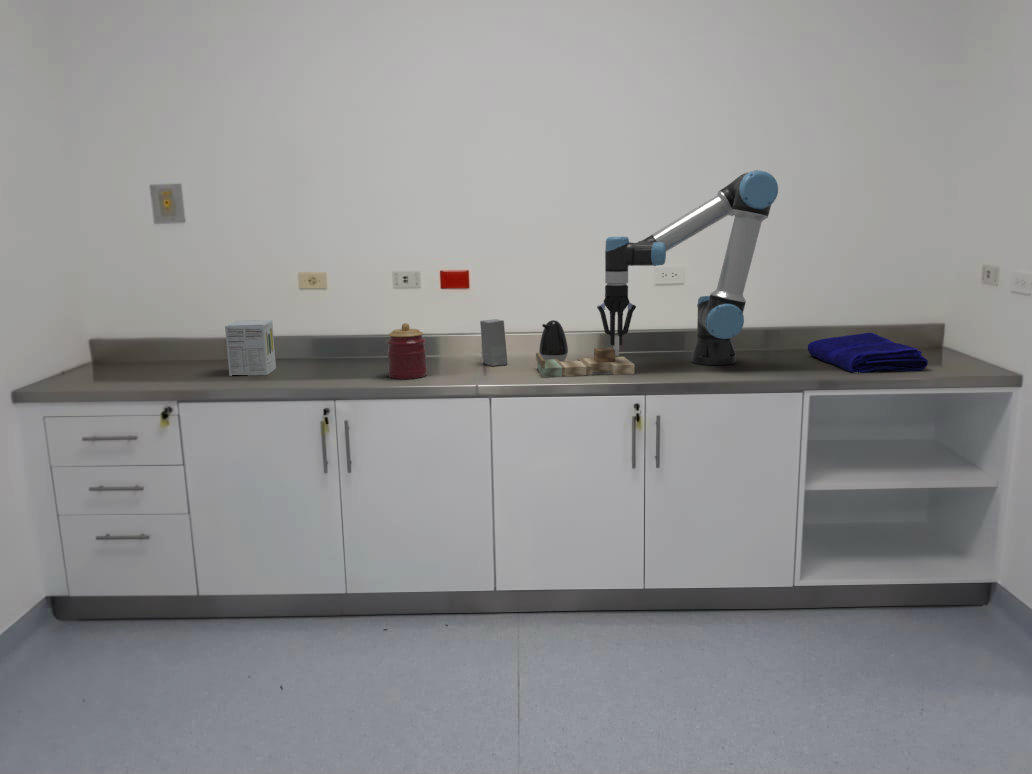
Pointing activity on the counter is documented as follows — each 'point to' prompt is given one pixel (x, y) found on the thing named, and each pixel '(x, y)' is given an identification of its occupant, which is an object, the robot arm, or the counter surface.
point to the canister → (406, 353)
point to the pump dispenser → (553, 342)
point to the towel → (867, 353)
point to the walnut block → (604, 355)
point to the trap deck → (583, 367)
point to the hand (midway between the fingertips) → (616, 354)
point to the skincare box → (493, 342)
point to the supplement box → (250, 347)
